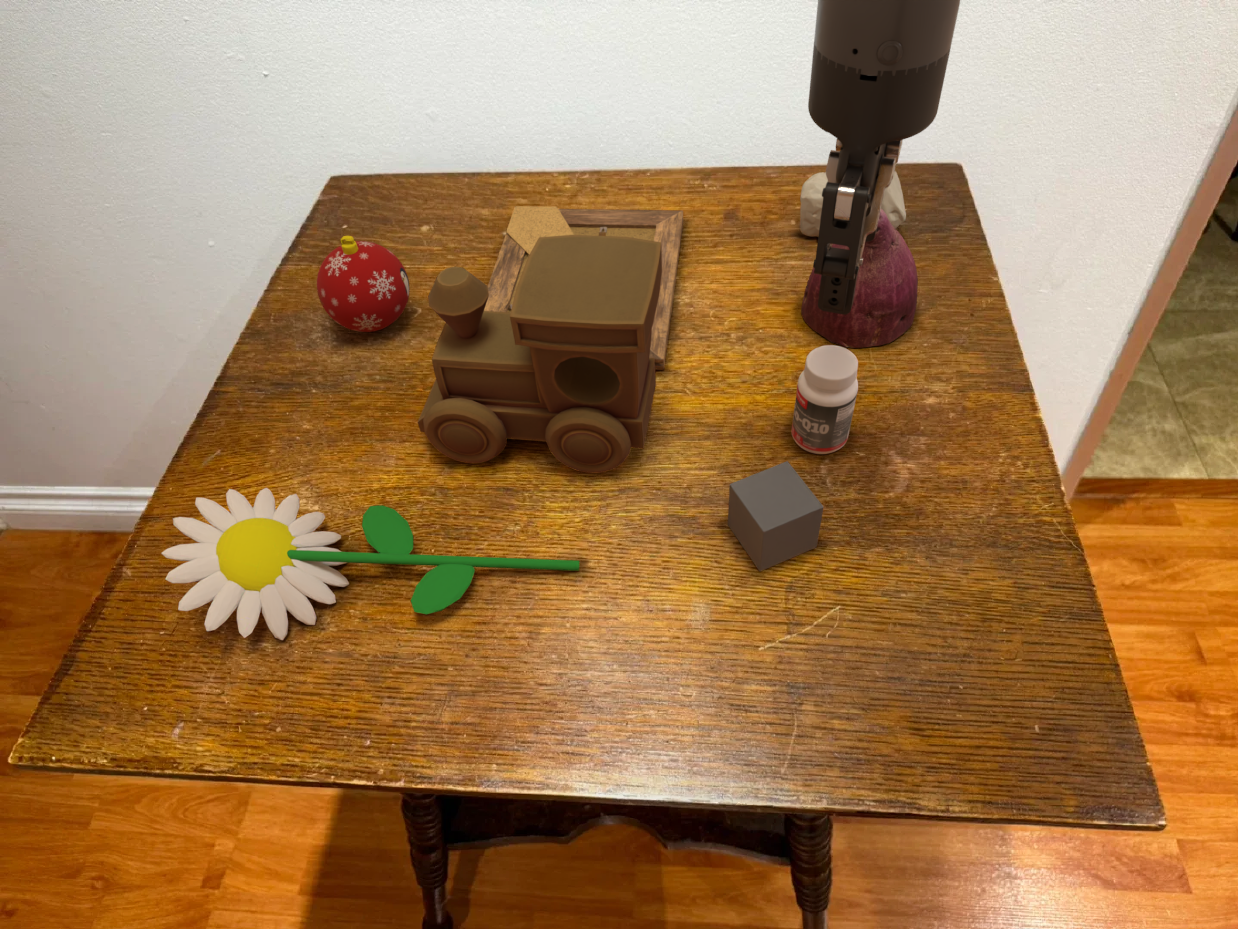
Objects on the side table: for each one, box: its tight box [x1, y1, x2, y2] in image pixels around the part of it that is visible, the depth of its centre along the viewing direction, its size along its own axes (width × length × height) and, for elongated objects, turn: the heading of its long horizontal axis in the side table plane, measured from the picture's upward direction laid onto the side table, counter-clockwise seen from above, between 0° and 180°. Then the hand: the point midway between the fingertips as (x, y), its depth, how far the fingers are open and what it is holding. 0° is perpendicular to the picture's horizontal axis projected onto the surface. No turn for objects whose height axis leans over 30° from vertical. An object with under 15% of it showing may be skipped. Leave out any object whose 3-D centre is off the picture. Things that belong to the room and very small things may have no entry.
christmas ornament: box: [316, 235, 410, 333], centre depth 85 cm, size 9×9×10 cm
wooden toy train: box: [417, 235, 662, 474], centre depth 71 cm, size 20×11×17 cm, turn 81°
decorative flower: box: [160, 487, 580, 641], centre depth 67 cm, size 13×5×30 cm
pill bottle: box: [791, 344, 859, 455], centre depth 72 cm, size 5×5×8 cm
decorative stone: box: [799, 170, 907, 238], centre depth 92 cm, size 11×9×10 cm
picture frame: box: [484, 205, 684, 371], centre depth 90 cm, size 19×2×24 cm
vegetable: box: [800, 209, 919, 349], centre depth 80 cm, size 10×10×15 cm
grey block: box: [727, 460, 825, 572], centre depth 67 cm, size 5×5×5 cm
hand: (847, 272), depth 62 cm, fingers open, 8 cm apart
